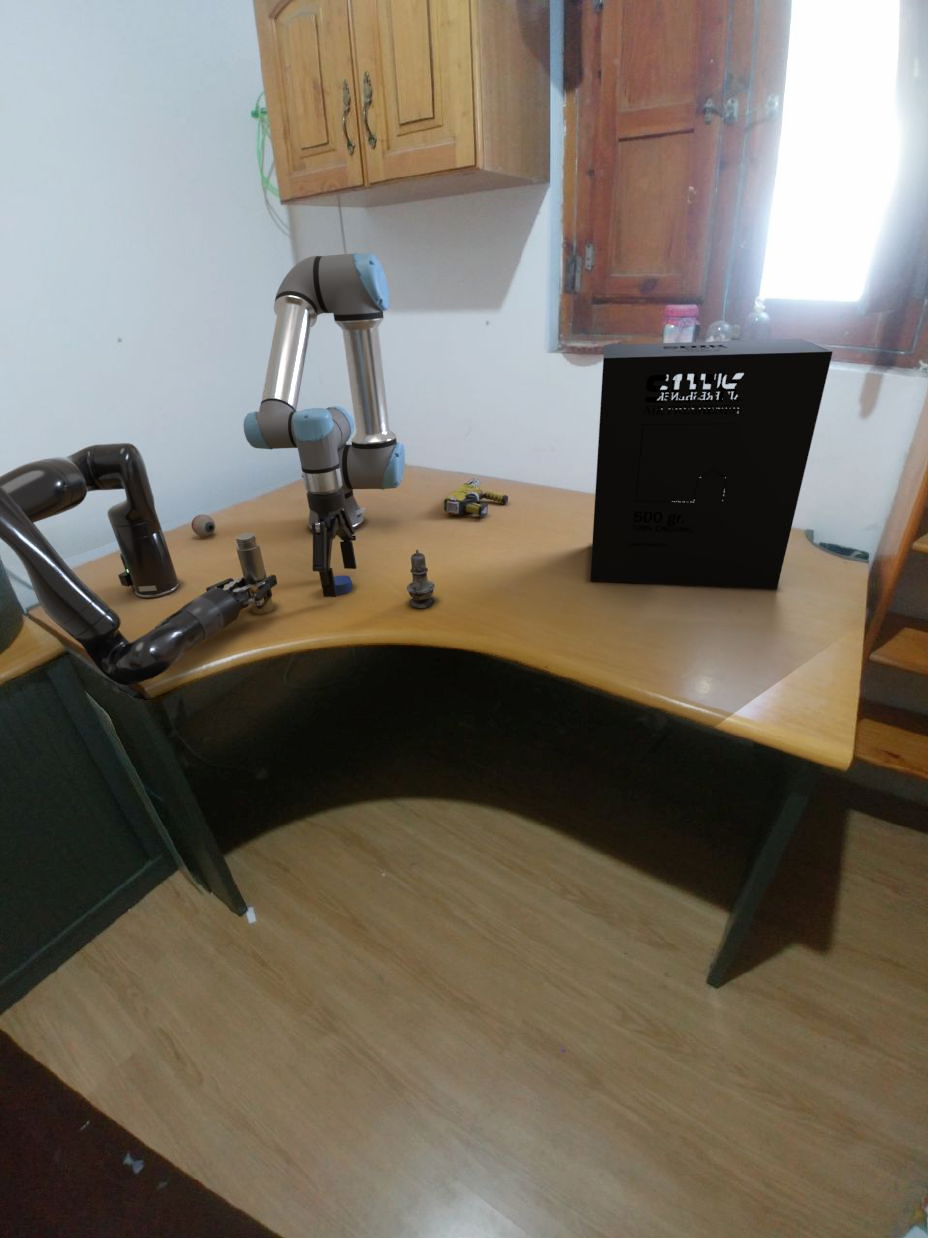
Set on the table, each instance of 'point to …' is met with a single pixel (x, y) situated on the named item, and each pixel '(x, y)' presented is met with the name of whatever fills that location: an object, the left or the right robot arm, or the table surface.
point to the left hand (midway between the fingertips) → (265, 577)
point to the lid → (343, 584)
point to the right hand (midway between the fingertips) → (340, 581)
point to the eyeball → (203, 525)
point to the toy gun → (471, 499)
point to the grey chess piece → (420, 583)
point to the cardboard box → (703, 460)
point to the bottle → (252, 566)
